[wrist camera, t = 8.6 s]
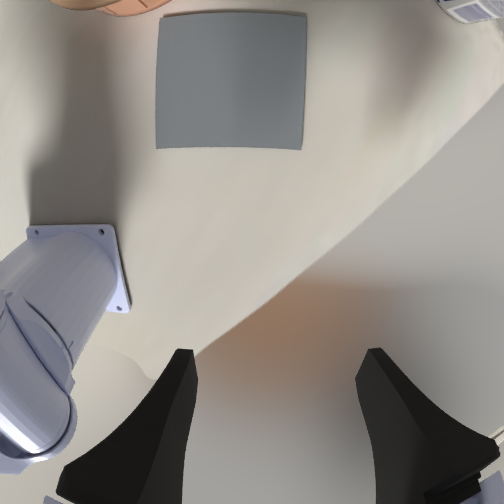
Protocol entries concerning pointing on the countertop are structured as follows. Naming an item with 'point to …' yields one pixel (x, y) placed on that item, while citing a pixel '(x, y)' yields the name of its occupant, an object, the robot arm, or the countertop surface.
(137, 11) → the bowl
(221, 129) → the mat
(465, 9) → the energy drink
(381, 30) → the countertop surface
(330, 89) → the countertop surface
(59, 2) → the lid
